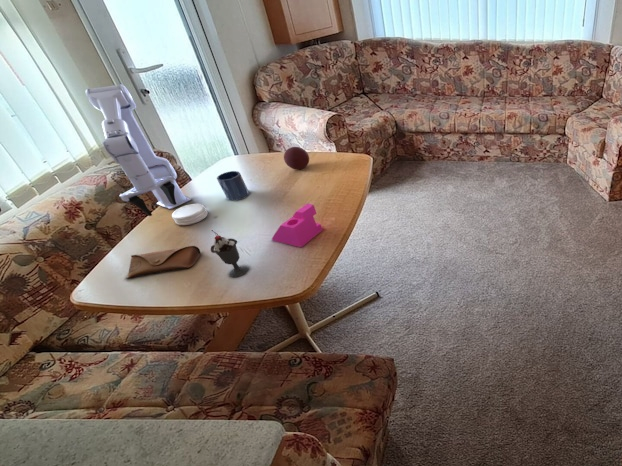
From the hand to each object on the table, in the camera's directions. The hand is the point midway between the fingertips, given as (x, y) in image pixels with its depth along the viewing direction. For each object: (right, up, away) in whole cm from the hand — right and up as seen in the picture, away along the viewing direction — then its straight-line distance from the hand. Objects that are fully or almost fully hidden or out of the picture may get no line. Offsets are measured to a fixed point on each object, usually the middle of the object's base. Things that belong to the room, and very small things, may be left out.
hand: (161, 209), depth 128 cm
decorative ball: (+24, +21, +43) cm, 54 cm away
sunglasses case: (+10, -18, -10) cm, 23 cm away
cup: (+9, +7, +24) cm, 27 cm away
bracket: (+45, -9, +1) cm, 46 cm away
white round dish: (+1, -3, +11) cm, 12 cm away
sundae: (+35, -20, -13) cm, 43 cm away
